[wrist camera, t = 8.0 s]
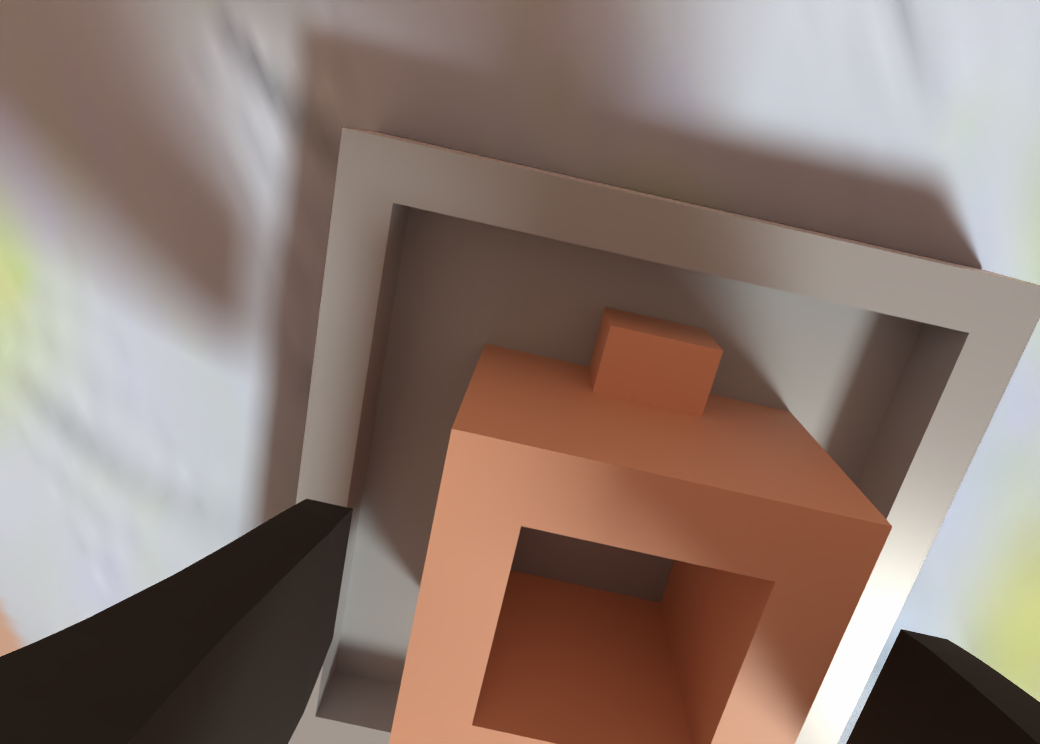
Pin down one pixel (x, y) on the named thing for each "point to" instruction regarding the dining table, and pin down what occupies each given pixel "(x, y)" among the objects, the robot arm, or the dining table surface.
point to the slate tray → (571, 337)
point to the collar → (638, 527)
